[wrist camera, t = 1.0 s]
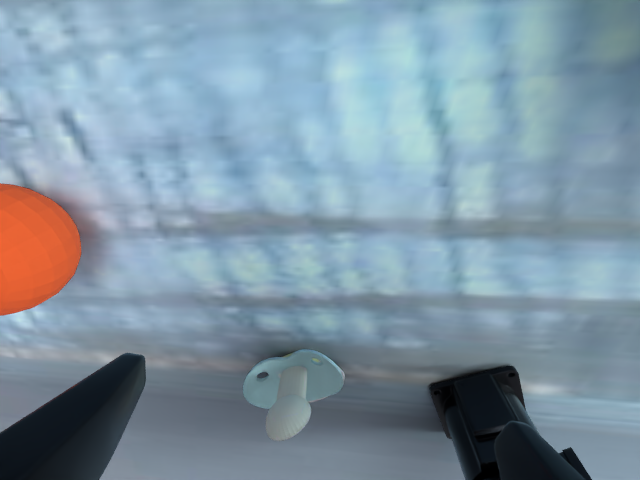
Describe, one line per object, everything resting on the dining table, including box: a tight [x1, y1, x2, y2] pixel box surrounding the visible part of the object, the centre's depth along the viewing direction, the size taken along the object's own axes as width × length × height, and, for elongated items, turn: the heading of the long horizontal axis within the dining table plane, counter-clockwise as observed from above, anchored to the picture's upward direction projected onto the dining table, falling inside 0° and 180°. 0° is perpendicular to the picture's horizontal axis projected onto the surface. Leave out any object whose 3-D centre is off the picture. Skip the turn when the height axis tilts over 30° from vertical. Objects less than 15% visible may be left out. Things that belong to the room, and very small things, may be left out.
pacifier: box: [243, 349, 345, 441], centre depth 23 cm, size 7×6×6 cm
